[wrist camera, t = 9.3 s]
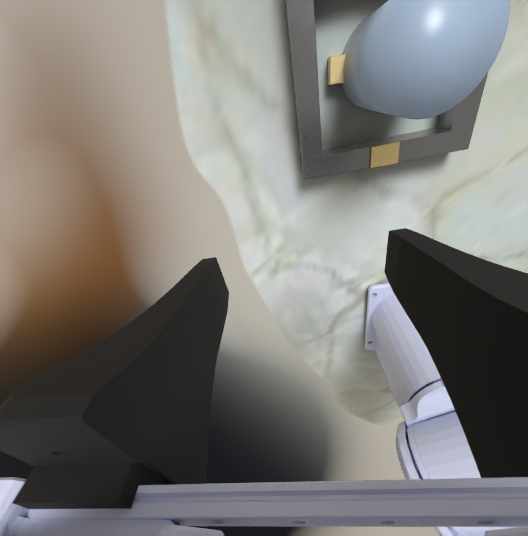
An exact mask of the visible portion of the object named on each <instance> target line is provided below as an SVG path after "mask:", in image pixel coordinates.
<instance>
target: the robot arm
mask: <svg viewBox="0 0 528 536" xmlns="http://www.w3.org/2000/svg"><path fill="white" fill-rule="evenodd" d="M385 274H386V276H387V279H388V281H389V283H386V284H378V285H372V286H370V287H369V288H368V299H367V315H366V331H365V349H366V350H369V351H370V350H375V351H376V353H377V356H378V358H379V361H380V364H381V366H382V369H383V371H384V374H385V376H386V379H387V381H388V384H389V386H390V389H391V392H392V394H393V397H394V399H395V401H396V403H397V404H398V406H399V407H400V410H401V413H402V415H403V418H404V420H405V421H404V422H401V423H400V424H399V425H398V427H397V436H396V449H397V454H398V458H399V461H400V465H401V468H402V471H403V473H404V476H405V478H406V480H367V481H366V480H365V481H318V482H273V483H272V482H271V483H226V484H225V483H224V484H206V473H207V452H208V435H209V421H210V409H211V398H212V389H213V380H214V372H215V365H216V359H217V354H218V350H219V346H220V342H221V337H222V333H223V329H224V324H225V320H226V315H227V309H228V297H229V292H228V289H227V286H226V284H225V281H224V278H223V275H222V272H221V270H220V267H219V264H218V262H217V259H216V258H208V259H203V260H201V261H200V262H199V263H198V264H197V265H196V266H194V267H193V268H192V269H191V270H190V271H189V272H188V273H187V274H186V275H185V276H184V277H183V278H182V279H181V280H180V281H179V282H178V283H177V284H176V285H175V286H174V287H173V288H172V289H171V290H169V291H168V292H167V293H166V294H165V295H164V296H163V297H162V298H160V300H158V301H157V302H156V303H155V304H154V305H152V306H151V307H150V308H149V309H147V310H146V311H145V312H144V313H142V314H141V315H140V316H138V317H137V318H136V319H134V320H133V321H132V322H130V323H129V324H127V325H126V326H124V327H123V328H121V329H120V330H118V331H117V332H115V333H113V334H112V335H111V336H109V337H107V338H106V339H104V340H103V341H101V342H99V343H98V344H96V345H94V346H93V347H91V348H89V349H88V350H86V351H84V352H83V353H80V354H79V355H77V356H75V357H73V358H71V359H70V360H68V361H66V362H64V363H62V364H60V365H58V366H56V367H54V368H52V369H50V370H48V371H46V372H44V373H42V374H40V375H38V376H36V377H34V378H32V379H30V380H27V381H25V382H23V383H21V384H20V385H19V386H18V387H17V388H16V389H15V391H14V392H13V393H12V394H11V395H10V396H9V398H8V399H7V400H6V401H5V402H4V403H3V405H2V406H1V407H0V451H2V452H4V453H7V454H9V455H11V456H13V457H15V458H17V459H20V460H21V461H24V462H26V463H28V464H30V465H32V466H34V467H35V468H34V469H33V471H32V472H31V474H30V476H29V477H28V479H27V480H26V479H21V478H13V477H8V478H0V536H224V534H223V532H222V531H219V530H211V529H202V528H194V527H186V526H392V527H395V526H396V527H398V526H399V527H400V526H402V527H405V526H406V527H412V526H413V527H415V526H416V527H417V526H419V527H428V526H429V527H435V529H436V530H437V532H438V534H439V535H440V536H528V273H524V272H521V271H518V270H514V269H511V268H507V267H504V266H501V265H498V264H495V263H492V262H489V261H486V260H484V259H481V258H478V257H475V256H473V255H470V254H467V253H465V252H462V251H460V250H457V249H455V248H452V247H450V246H448V245H445V244H443V243H440V242H438V241H436V240H433V239H431V238H429V237H426V236H424V235H422V234H419V233H417V232H414V231H412V230H409V229H406V228H405V229H398V230H392V231H389V236H388V245H387V255H386V264H385ZM374 293H376V294H374ZM372 294H374V295H372Z"/></svg>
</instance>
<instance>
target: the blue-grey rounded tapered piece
mask: <svg viewBox="0 0 528 536" xmlns="http://www.w3.org/2000/svg"><path fill="white" fill-rule="evenodd" d="M509 10H510V1H509V0H388V1H387V2H386V3H385V4H383V5H382V6H381V7H379V8H378V9H377V10H375V11H374V12H373V13H371V14H370V15H369V16H368V17H366V18H365V19H364V20H363V21H362V22H361V23H360V24H359V25H358V26H357V28H356V29H355V30H354V31H353V33H352V35H351V36H350V38H349V40H348V42H347V44H346V47H345V49H344V52H343V55H338V56H332V57H329V58H328V85H331V84H337V83H342V87H343V90H344V92H345V94H346V96H347V97H348V99H349V100H350V101H351V102H352V103H353V104H354V105H356V106H358V107H360V108H363V109H367V110H372V111H376V112H381V113H385V114H390V115H395V116H399V117H404V118H408V119H425V118H430V117H434V116H436V115H439V114H441V113H444V112H446V111H448V110H449V109H451V108H452V107H454V106H456V105H457V104H458V103H460V102H461V101H462V100H463V99H465V98H466V97H467V96H468V95H469V94H470V93H471V92H472V91H473V90H474V89H475V88H476V87H477V86H478V84H479V83H480V82H481V81H482V79H483V78H484V77H485V75H486V74H487V72H488V71H489V69H490V68H491V66H492V64H493V63H494V61H495V59H496V57H497V55H498V53H499V51H500V49H501V46H502V43H503V40H504V38H505V34H506V30H507V26H508V20H509Z"/></svg>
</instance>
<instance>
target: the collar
mask: <svg viewBox="0 0 528 536" xmlns="http://www.w3.org/2000/svg"><path fill="white" fill-rule="evenodd" d="M285 5H286V15H287V25H288V35H289V44H290V54H291V64H292V74H293V84H294V94H295V103H296V113H297V123H298V133H299V143H300V152H301V162H302V172H303V176H304V179H310V178H315V177H321V176H326V175H331V174H337V173H342V172H347V171H353V170H358V169H363V168H369V167H370V168H374V167H380V166H385V165H390V164H396V163H398V162H401V161H406V160H411V159H417V158H422V157H427V156H433V155H438V154H443V153H449V152H454V151H459V150H465V149H468V147H469V144H470V140H471V136H472V132H473V128H474V124H475V120H476V116H477V113H478V109H479V105H480V101H481V97H482V93H483V89H484V86H485V82H486V78H487V74H488V72H487V74H486V75H485V77H484V78H483V79H482V81H481V82H480V83H479V84H478V86H477V87H476V88H475V89H474V90H473V91H472V92H471V93H470V94H469V95H468V96H467V97H466V98H465V99H463V100H462V101H461V102H460V103H458V104H457V105H456V106H454V107H452V108H451V109H449V110H448V111H446V112H444V113H441V114H440V116H439V122H438V127H437V128H433V129H428V130H423V131H419V132H414V133H409V134H404V135H399V136H394V137H389V138H384V139H379V140H374V141H369V142H364V143H359V144H354V145H349V146H344V147H339V148H334V149H329V150H324V151H322V142H321V124H320V106H319V88H318V70H317V52H316V34H315V15H314V0H285Z"/></svg>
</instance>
